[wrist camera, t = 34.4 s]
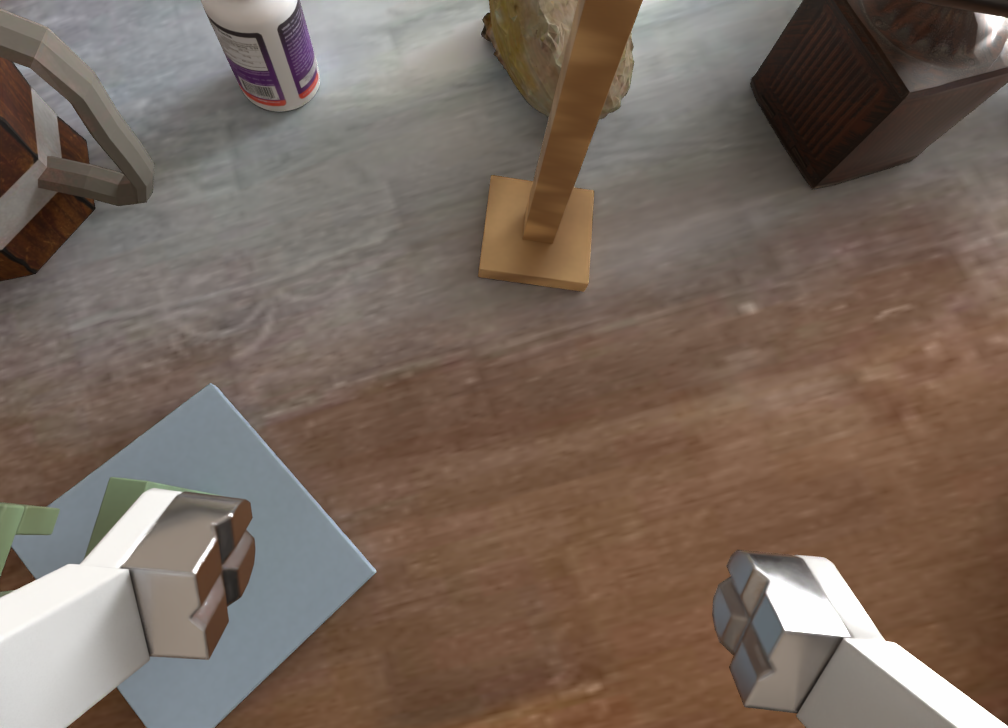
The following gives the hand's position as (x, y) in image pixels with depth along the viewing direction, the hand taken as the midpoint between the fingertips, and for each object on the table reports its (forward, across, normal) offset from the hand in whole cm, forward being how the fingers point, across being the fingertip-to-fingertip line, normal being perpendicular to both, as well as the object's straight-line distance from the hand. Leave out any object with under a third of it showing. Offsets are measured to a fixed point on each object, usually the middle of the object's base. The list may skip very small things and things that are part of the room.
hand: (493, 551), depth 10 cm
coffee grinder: (+42, -24, -9) cm, 49 cm away
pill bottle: (+37, +16, -5) cm, 40 cm away
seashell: (+40, -2, -8) cm, 41 cm away
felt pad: (+15, +14, +17) cm, 27 cm away
